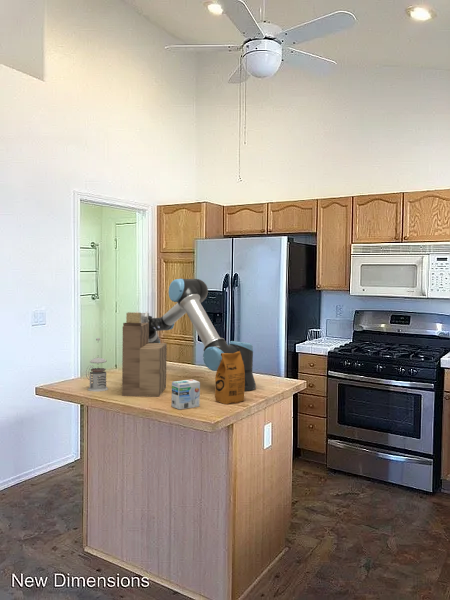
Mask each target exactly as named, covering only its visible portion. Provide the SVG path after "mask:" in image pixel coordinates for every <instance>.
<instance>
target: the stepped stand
mask: <svg viewBox="0 0 450 600" xmlns="http://www.w3.org/2000/svg"><path fill="white" fill-rule="evenodd" d="M122 324H123V325H122V355H121V357H122V361H121V363H122V364H121V365H122V367H121V368H122V372H121V373H122V379H121V383H122V385H121V390H122V391H121V396H122V397H149V398H151V397H152V398H153V397H154V398H159V397H160V396H161V395H162V393H164V391H165V390H166V388H167V353H168V352H167V350H168V349H167V346H168V345H167V344H168V343H166V342H165V343H164V342H163V343H162V342H160V343H149V323H143V324H141V323H126V322H123V323H122Z"/></svg>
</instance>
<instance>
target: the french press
mask: <svg viewBox="0 0 450 600" xmlns="http://www.w3.org/2000/svg"><path fill="white" fill-rule="evenodd" d="M95 340H96V341H97V342H99V341H101V338H100V337H97V338H96V339H95ZM106 362H107V359H105V358H102V357H99V356H97V357H95V358H92V359H90V360H89V363H90V364H89V365H88V366H87V368H86V371H85V376H86V379H87V380H88V381H89V387H88V388H87V391H89V392H106V391H108V390H109V388H108V387H107V371H106V369H107V368H103V367H94V365H93V364H103V363H104V364H105V363H106ZM91 364H92V365H91ZM88 368H89V369H88ZM88 377H89V378H88Z"/></svg>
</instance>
